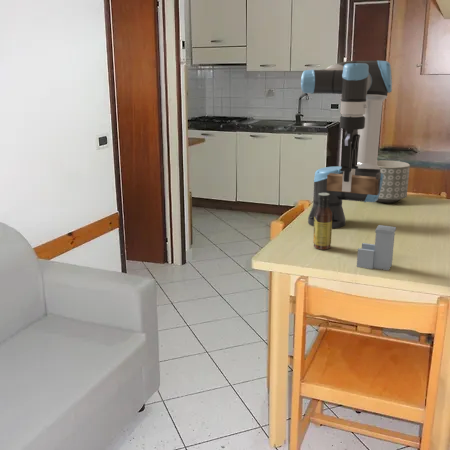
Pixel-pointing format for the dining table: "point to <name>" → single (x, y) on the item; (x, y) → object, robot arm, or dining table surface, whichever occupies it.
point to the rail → (355, 183)
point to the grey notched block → (378, 250)
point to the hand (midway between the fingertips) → (347, 189)
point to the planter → (393, 180)
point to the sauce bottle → (323, 223)
